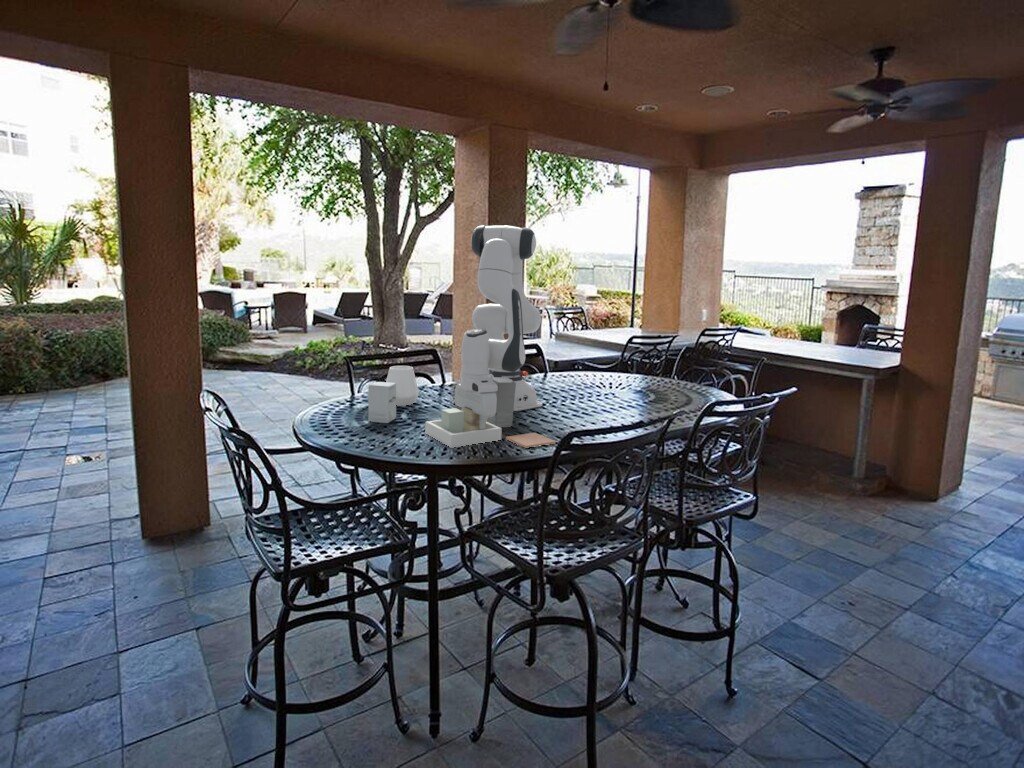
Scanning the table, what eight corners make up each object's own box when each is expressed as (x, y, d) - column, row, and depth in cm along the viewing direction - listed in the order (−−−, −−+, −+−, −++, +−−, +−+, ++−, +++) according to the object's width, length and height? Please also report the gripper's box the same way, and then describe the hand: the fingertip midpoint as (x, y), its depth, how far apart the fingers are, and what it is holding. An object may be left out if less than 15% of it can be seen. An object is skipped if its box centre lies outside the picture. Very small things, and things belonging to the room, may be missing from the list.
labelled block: (476, 433, 200) (476, 404, 198) (484, 436, 196) (484, 408, 194) (462, 435, 197) (463, 406, 195) (470, 438, 193) (470, 409, 191)
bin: (473, 427, 206) (473, 415, 206) (501, 440, 192) (501, 428, 191) (425, 433, 197) (425, 421, 196) (451, 448, 183) (451, 435, 182)
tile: (534, 435, 199) (534, 432, 199) (555, 444, 190) (555, 441, 190) (505, 439, 193) (505, 436, 193) (525, 449, 184) (526, 445, 184)
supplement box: (388, 423, 208) (388, 386, 205) (367, 421, 209) (367, 384, 207) (396, 418, 215) (397, 382, 213) (376, 416, 216) (376, 381, 214)
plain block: (455, 435, 196) (455, 408, 194) (463, 439, 192) (463, 411, 190) (441, 437, 193) (441, 409, 191) (448, 442, 189) (449, 413, 187)
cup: (405, 398, 247) (405, 363, 245) (426, 404, 238) (426, 368, 236) (376, 402, 238) (376, 366, 235) (397, 409, 229) (397, 371, 226)
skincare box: (486, 422, 214) (487, 377, 211) (505, 421, 217) (506, 376, 214) (495, 428, 206) (496, 381, 203) (515, 427, 209) (516, 380, 206)
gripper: (449, 377, 200) (449, 419, 202) (482, 388, 183) (481, 434, 186) (467, 375, 203) (466, 417, 206) (500, 386, 187) (499, 431, 189)
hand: (473, 425), depth 196 cm, fingers open, 8 cm apart
